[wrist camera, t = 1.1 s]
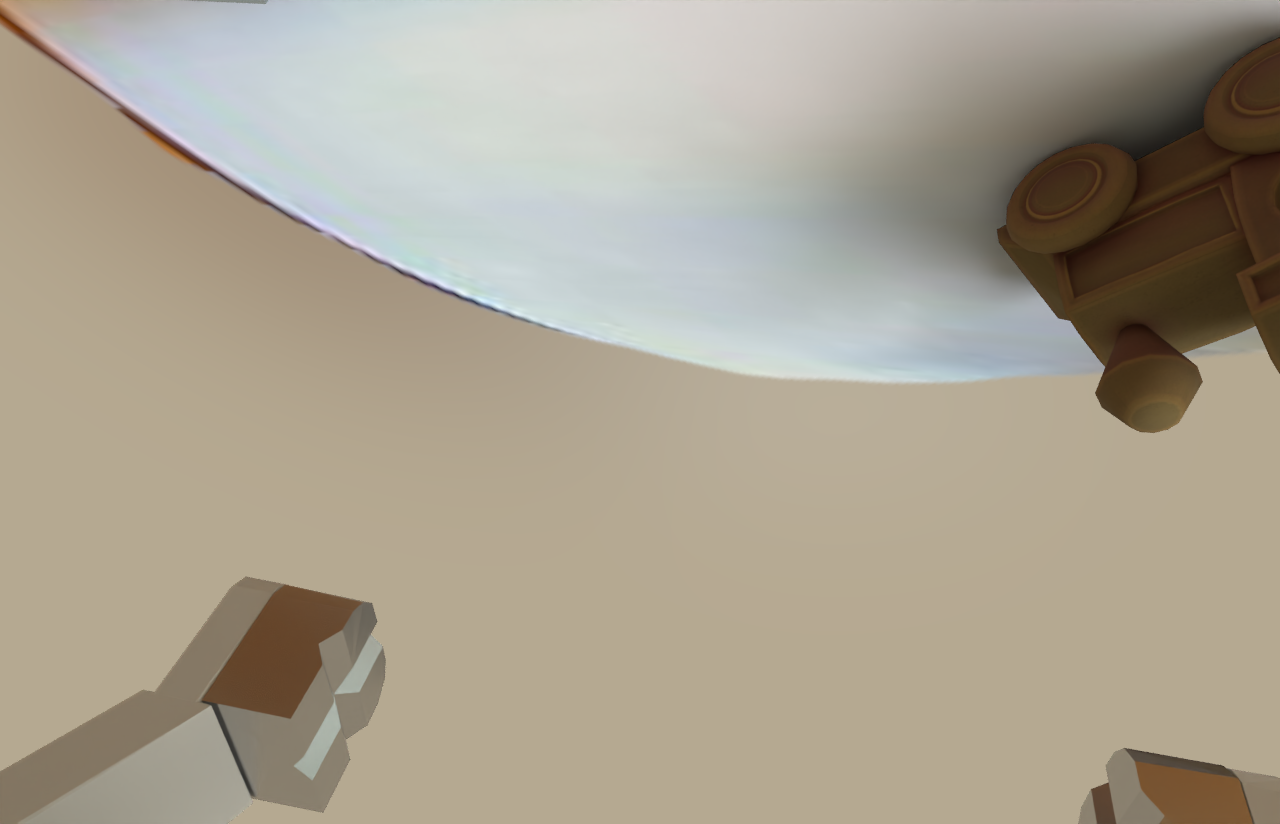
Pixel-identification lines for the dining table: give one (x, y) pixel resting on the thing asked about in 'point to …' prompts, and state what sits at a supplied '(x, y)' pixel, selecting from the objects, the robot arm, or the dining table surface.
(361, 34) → the dining table surface
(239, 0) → the board
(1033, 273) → the wooden toy train
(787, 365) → the dining table surface
